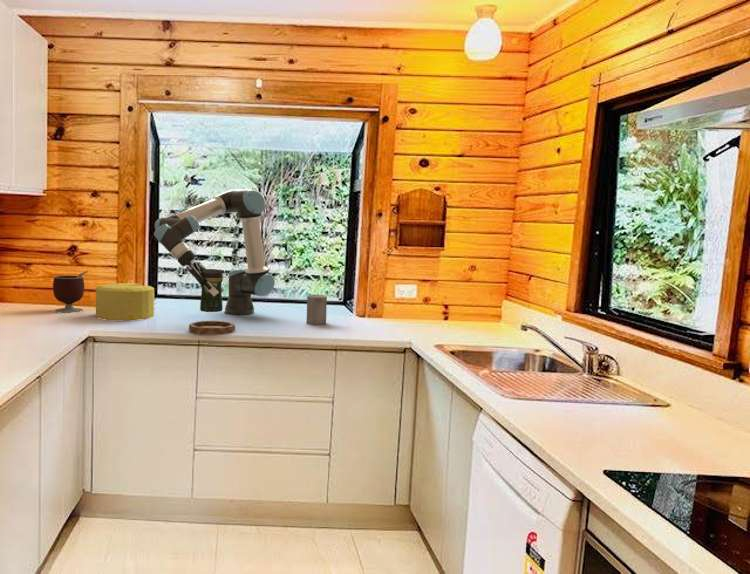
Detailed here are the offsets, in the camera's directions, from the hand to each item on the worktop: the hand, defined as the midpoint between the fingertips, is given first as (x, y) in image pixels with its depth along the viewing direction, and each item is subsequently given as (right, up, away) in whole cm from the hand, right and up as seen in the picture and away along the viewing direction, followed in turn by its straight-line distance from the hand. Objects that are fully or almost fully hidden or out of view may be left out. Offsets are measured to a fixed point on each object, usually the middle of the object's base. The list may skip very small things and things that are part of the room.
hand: (219, 293), depth 263 cm
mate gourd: (-83, -9, +36) cm, 91 cm away
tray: (-4, -16, +2) cm, 17 cm away
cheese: (-53, -12, +27) cm, 60 cm away
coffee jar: (-4, -8, +1) cm, 9 cm away
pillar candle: (+39, -15, +32) cm, 53 cm away
